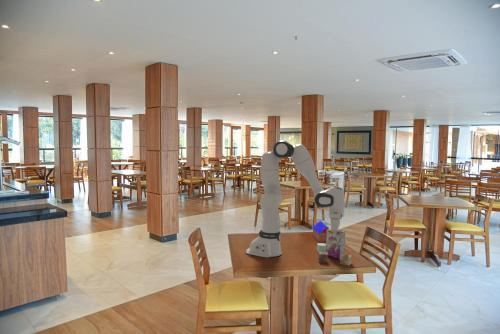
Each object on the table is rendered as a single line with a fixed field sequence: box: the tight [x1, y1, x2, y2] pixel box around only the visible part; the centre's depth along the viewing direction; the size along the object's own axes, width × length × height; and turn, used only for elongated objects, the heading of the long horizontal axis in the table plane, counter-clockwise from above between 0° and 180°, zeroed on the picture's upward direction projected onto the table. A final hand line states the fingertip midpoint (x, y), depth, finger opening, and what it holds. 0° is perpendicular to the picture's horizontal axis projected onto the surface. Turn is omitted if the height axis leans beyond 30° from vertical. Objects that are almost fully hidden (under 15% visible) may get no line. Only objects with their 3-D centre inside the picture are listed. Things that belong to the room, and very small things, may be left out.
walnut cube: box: [318, 252, 329, 264], centre depth 202 cm, size 5×5×5 cm
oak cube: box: [339, 253, 353, 267], centre depth 198 cm, size 5×5×5 cm
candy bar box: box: [325, 228, 346, 261], centre depth 210 cm, size 11×5×16 cm, turn 35°
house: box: [312, 220, 330, 243], centre depth 251 cm, size 12×20×12 cm, turn 3°
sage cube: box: [316, 242, 326, 254], centre depth 220 cm, size 5×5×5 cm
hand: (335, 235), depth 210 cm, fingers open, 7 cm apart
